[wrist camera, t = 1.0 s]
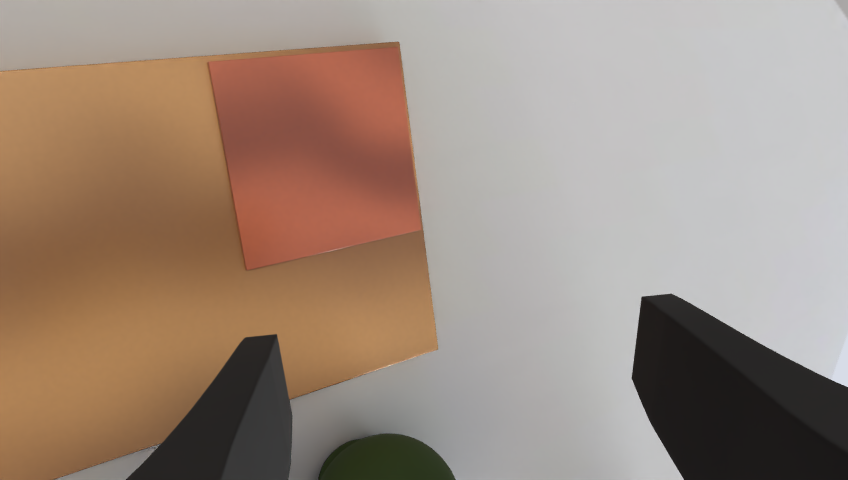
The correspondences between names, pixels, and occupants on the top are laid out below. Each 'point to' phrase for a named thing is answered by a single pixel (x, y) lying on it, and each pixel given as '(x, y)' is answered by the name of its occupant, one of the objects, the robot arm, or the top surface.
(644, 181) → the top surface
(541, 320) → the top surface
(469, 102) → the top surface
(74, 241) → the board
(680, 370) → the robot arm
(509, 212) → the top surface
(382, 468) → the avocado
